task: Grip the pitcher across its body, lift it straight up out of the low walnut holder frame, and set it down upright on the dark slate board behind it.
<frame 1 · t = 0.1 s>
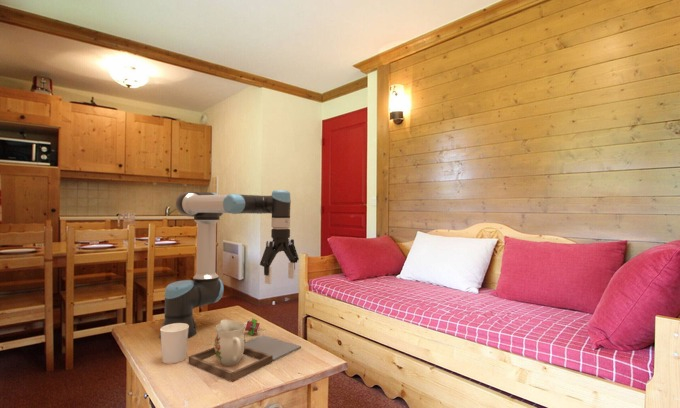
hand: (280, 280, 145), 28 cm above the table, tool pointing down, fingers open, 13 cm apart
slate board: (267, 348, 146), on the table
geometric puzzle: (252, 334, 163), on the table
pitcher: (230, 363, 132), resting in holder frame
holder frame: (230, 362, 132), on the table
candle holder: (174, 359, 135), on the table
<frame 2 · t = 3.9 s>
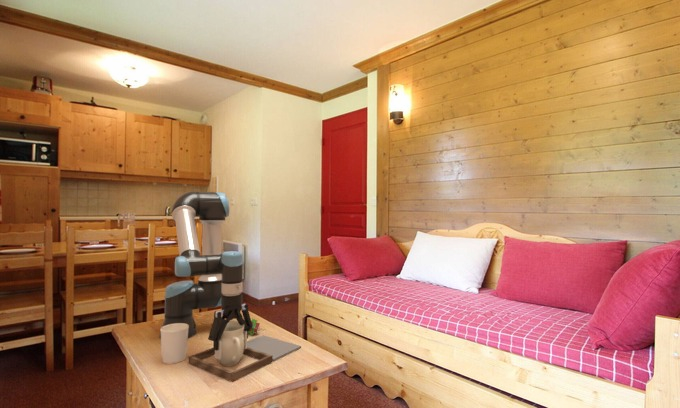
hand: (231, 353, 132), 4 cm above the table, tool pointing down, fingers closed on pitcher, 11 cm apart
pitcher: (230, 363, 132), resting in holder frame, touching gripper
everything else where it was.
when the fingers open (5 cm above the table, at t = 10.8 s): pitcher stays where it is, resting on slate board.
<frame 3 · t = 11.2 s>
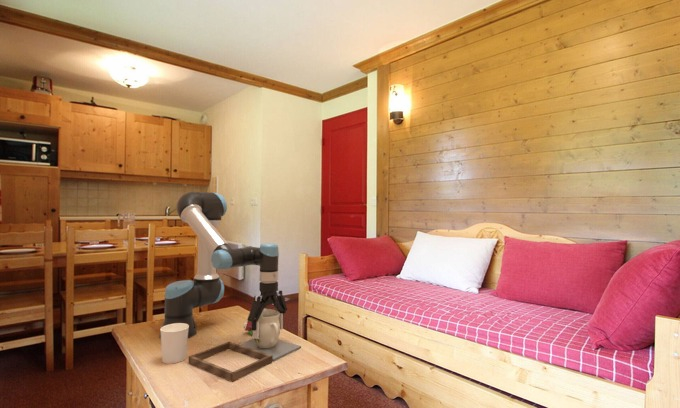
hand: (268, 333, 146), 6 cm above the table, tool pointing down, fingers open, 13 cm apart
pitcher: (267, 346, 146), point 1 cm above the table, touching slate board
everything else where it was.
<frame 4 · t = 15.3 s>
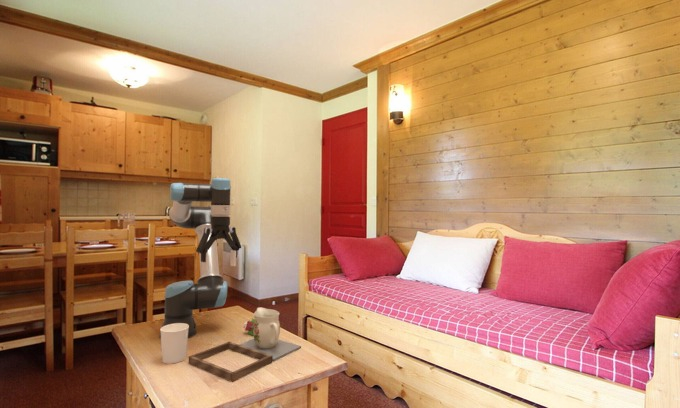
hand: (219, 268, 146), 33 cm above the table, tool pointing down, fingers open, 13 cm apart
nothing on the table moved.
at the end: pitcher inside the target area (0.2 cm from its centre), point 0.6 cm above the table; pitcher tilted 0°; pitcher touching slate board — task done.
